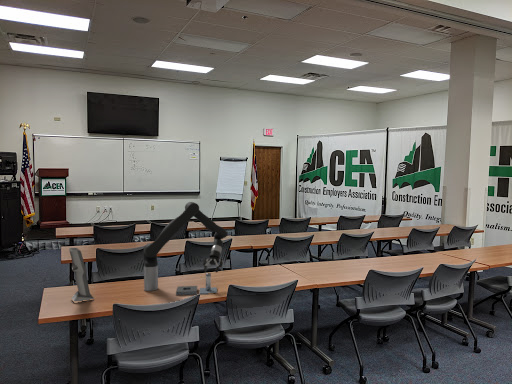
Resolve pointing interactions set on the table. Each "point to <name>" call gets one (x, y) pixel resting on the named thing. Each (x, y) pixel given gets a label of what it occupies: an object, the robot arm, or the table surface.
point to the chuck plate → (186, 290)
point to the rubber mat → (203, 291)
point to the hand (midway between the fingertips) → (210, 271)
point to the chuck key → (208, 281)
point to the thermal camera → (80, 276)
